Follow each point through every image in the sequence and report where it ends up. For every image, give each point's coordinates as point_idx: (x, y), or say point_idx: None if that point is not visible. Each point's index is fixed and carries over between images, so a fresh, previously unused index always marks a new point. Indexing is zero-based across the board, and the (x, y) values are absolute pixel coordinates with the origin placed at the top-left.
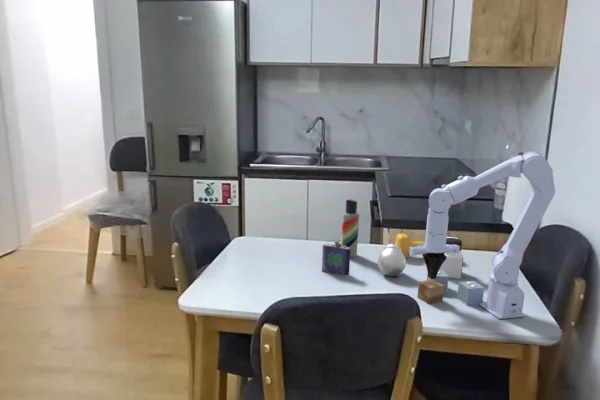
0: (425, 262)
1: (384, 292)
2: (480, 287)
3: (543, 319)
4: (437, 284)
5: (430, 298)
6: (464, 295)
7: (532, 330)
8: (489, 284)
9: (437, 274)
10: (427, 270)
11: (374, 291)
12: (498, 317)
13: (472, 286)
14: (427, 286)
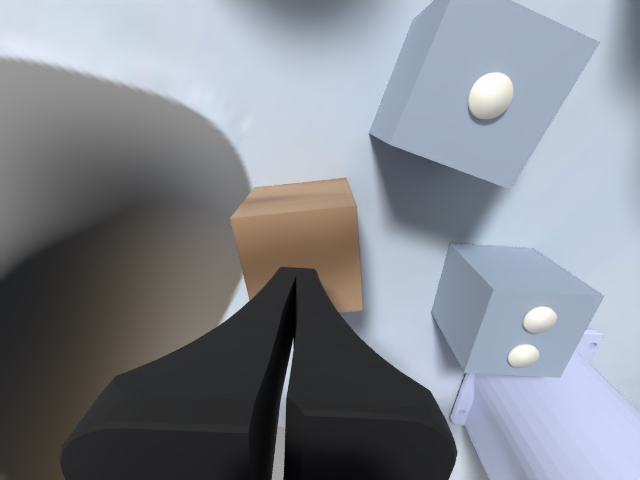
0: (217, 330)
1: (80, 67)
2: (542, 373)
3: None
4: (331, 288)
5: None
6: (451, 314)
7: (482, 472)
8: (551, 467)
9: (461, 124)
10: (264, 287)
11: (12, 30)
12: (451, 420)
13: (508, 362)
14: (250, 299)
